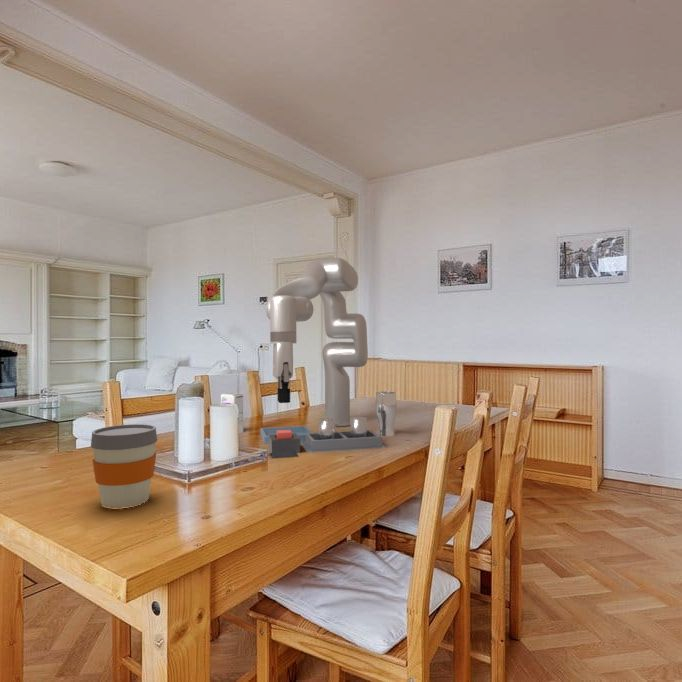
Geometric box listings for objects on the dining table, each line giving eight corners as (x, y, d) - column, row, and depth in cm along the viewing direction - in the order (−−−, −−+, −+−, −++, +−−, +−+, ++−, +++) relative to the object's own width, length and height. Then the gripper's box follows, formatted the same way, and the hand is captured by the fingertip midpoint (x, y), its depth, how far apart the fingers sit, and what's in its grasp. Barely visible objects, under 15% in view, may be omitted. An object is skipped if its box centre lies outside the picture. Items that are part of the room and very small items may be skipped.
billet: (316, 444, 147) (317, 418, 147) (333, 443, 148) (333, 417, 148) (319, 448, 142) (320, 421, 142) (336, 447, 144) (336, 420, 144)
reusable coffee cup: (89, 516, 92) (88, 438, 92) (93, 496, 104) (92, 426, 104) (159, 507, 97) (158, 432, 97) (156, 489, 109) (155, 422, 109)
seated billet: (348, 442, 150) (348, 417, 150) (364, 441, 151) (364, 416, 151) (353, 446, 145) (352, 419, 145) (369, 445, 146) (368, 418, 146)
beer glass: (396, 435, 166) (396, 391, 166) (396, 439, 159) (396, 393, 159) (375, 434, 166) (375, 391, 166) (375, 439, 160) (375, 393, 159)
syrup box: (220, 437, 165) (219, 394, 164) (230, 433, 170) (229, 392, 170) (234, 438, 162) (233, 395, 162) (244, 434, 168) (243, 393, 168)
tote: (260, 436, 164) (260, 428, 164) (305, 434, 168) (305, 425, 168) (264, 447, 149) (264, 437, 149) (314, 444, 153) (314, 434, 153)
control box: (269, 451, 143) (268, 434, 143) (295, 449, 145) (295, 433, 145) (271, 458, 136) (271, 440, 136) (300, 456, 138) (300, 438, 137)
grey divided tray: (300, 446, 150) (300, 433, 150) (374, 441, 156) (374, 429, 156) (307, 456, 138) (307, 442, 137) (387, 450, 143) (387, 437, 143)
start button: (276, 440, 142) (276, 430, 142) (290, 439, 143) (290, 429, 143) (278, 443, 138) (277, 433, 138) (292, 442, 139) (291, 432, 139)
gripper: (267, 338, 147) (268, 399, 147) (273, 338, 131) (273, 406, 132) (292, 338, 149) (292, 398, 149) (300, 338, 133) (301, 405, 133)
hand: (283, 401), depth 140 cm, fingers closed
